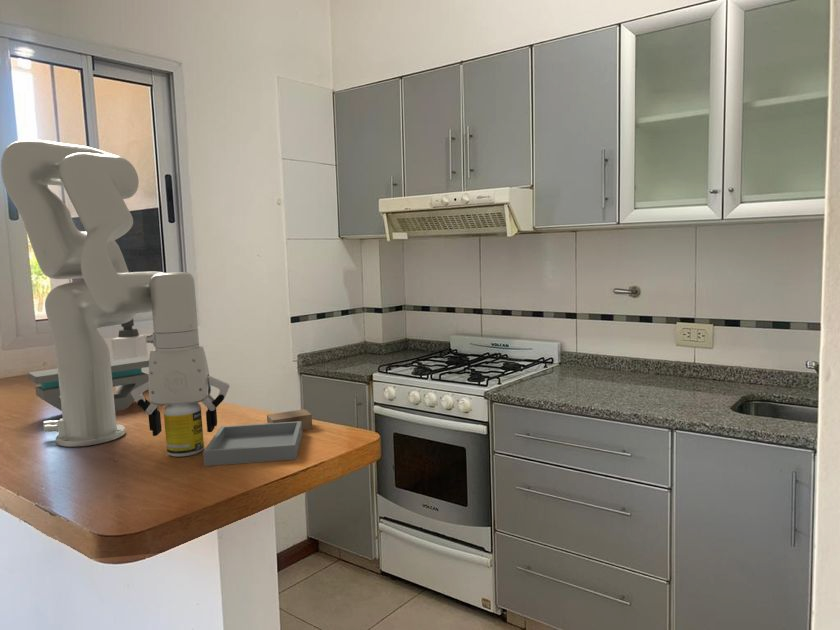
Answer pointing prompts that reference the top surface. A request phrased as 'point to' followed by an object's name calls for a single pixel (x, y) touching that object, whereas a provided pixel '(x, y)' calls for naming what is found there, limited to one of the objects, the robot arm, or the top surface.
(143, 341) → the soap dispenser
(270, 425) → the tray
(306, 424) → the walnut block
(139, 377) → the sharpening stone
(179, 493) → the top surface
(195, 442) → the pill bottle
